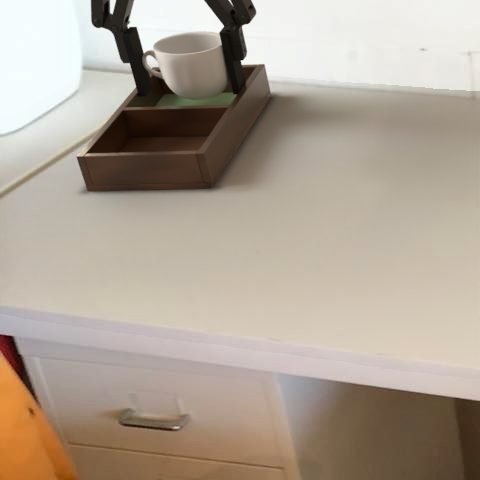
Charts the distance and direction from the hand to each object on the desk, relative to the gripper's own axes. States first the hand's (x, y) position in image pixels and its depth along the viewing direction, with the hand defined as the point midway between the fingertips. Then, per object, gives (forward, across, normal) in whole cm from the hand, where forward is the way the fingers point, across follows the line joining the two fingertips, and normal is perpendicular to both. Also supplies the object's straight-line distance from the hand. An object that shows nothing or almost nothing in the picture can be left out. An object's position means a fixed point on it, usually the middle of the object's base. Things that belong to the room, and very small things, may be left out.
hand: (192, 91), depth 144 cm
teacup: (0, 0, 0) cm, 0 cm away
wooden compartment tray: (+3, 0, +6) cm, 7 cm away
